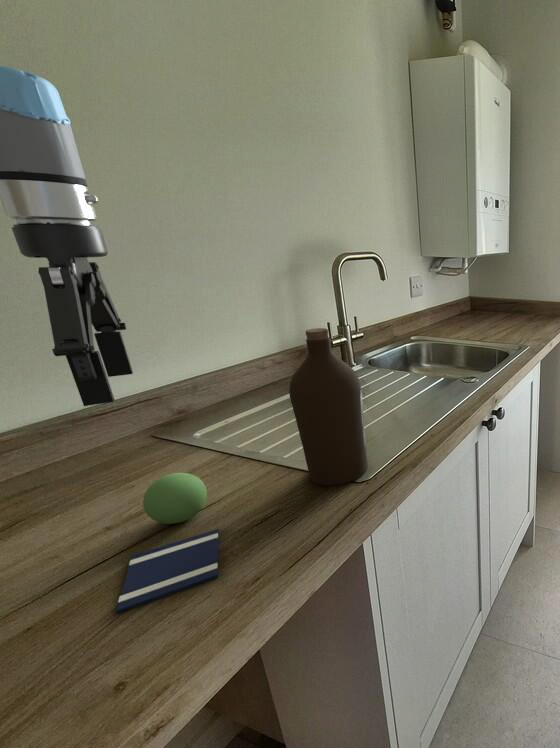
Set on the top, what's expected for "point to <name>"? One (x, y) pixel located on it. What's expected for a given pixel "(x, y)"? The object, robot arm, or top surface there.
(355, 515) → the top surface
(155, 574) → the towel
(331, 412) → the olive oil
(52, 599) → the top surface
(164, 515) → the mango
